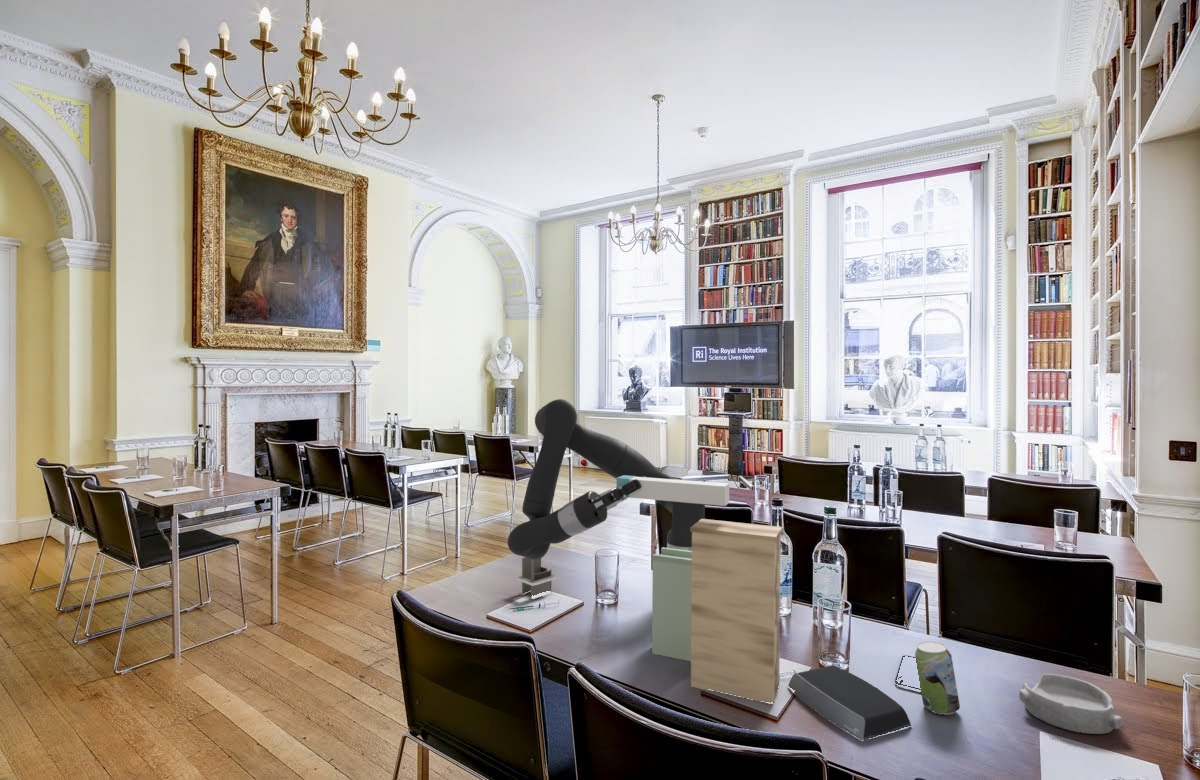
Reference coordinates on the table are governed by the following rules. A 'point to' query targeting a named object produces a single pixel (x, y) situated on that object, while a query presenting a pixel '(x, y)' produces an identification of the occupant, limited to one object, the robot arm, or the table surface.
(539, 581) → the architectural model
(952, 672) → the beverage can
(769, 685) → the oak stand
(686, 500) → the white teal square bar
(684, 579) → the sage green upright box
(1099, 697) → the dish
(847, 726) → the external hard drive
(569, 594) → the table surface
